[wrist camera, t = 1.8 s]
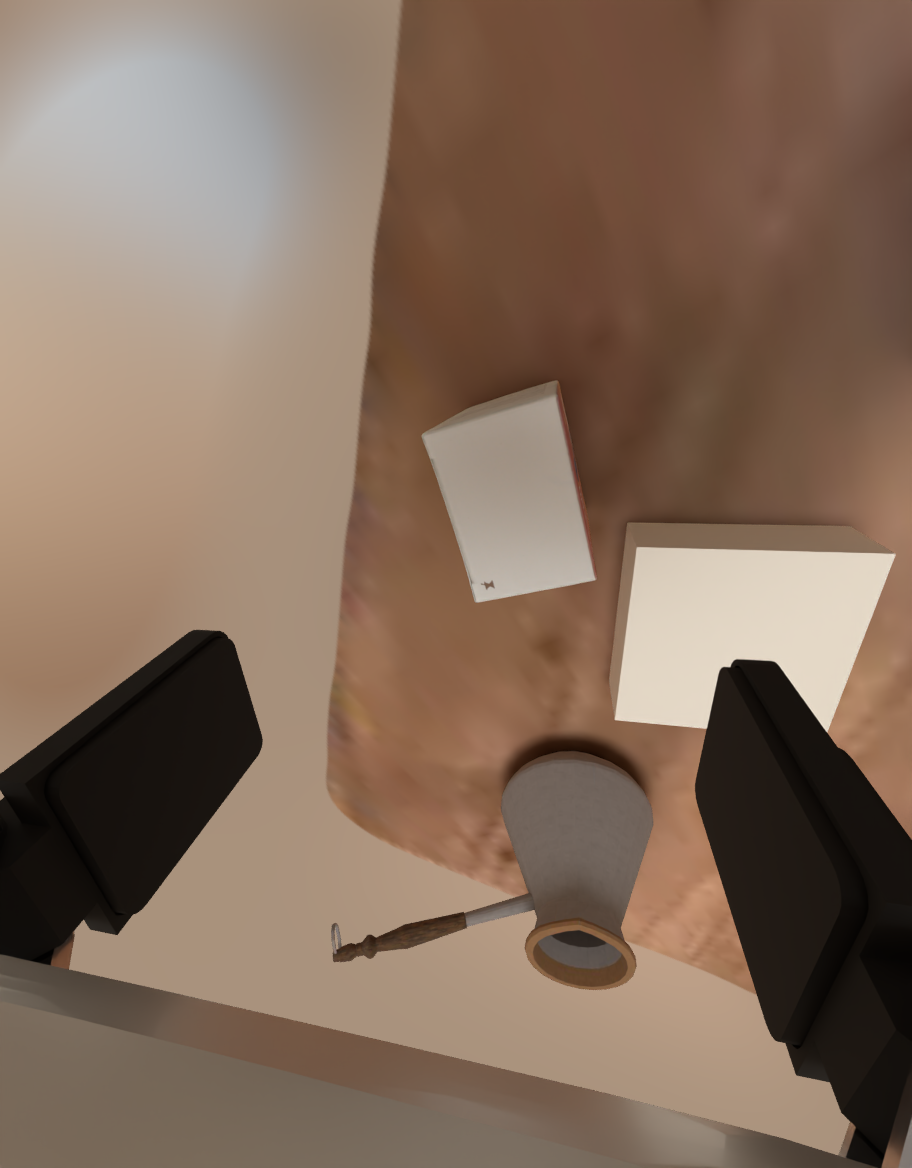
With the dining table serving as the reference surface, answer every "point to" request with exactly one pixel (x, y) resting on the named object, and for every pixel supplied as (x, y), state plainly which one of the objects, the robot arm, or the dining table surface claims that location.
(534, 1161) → the robot arm
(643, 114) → the dining table surface
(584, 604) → the dining table surface
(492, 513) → the small box
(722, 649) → the cream white block
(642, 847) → the coffee pot
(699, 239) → the dining table surface
